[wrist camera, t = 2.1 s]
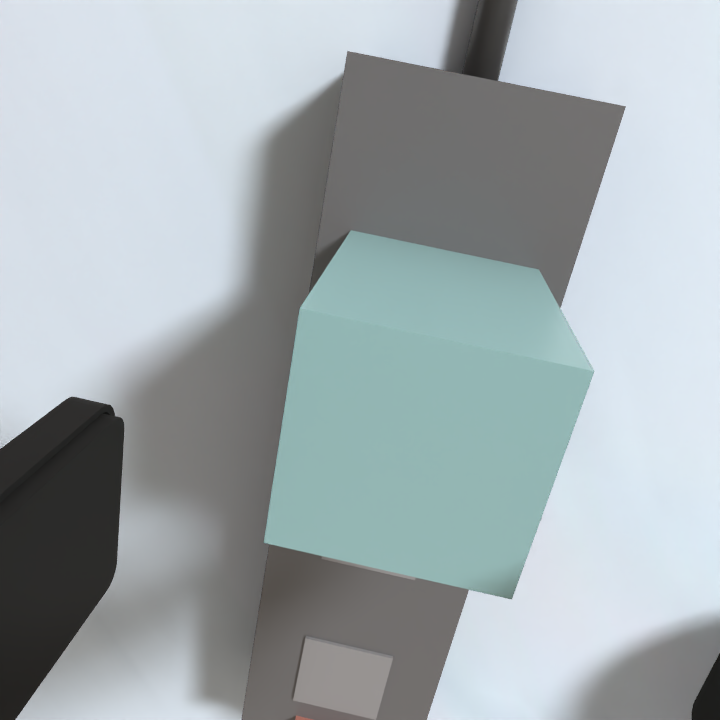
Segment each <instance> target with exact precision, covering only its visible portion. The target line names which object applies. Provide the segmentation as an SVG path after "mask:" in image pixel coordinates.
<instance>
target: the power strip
mask: <svg viewBox="0 0 720 720" xmlns="http://www.w3.org/2000/svg"><path fill="white" fill-rule="evenodd" d="M517 1H518V0H479V1H478V5H477V10H476V14H475V19H474V23H473V28H472V32H471V37H470V41H469V45H468V50H467V54H466V59H465V63H464V68H463V72H462V74H460V73H455V72H450V71H444V70H439V69H434V68H429V67H424V66H419V65H414V64H409V63H404V62H399V61H394V60H389V59H384V58H379V57H374V56H369V55H364V54H359V53H354V52H349V51H347V57H346V63H345V70H344V76H343V82H342V89H341V95H340V101H339V108H338V114H337V120H336V127H335V133H334V139H333V145H332V152H331V158H330V164H329V171H328V177H327V183H326V190H325V196H324V202H323V209H322V215H321V221H320V228H319V234H318V240H317V247H316V253H315V259H314V266H313V272H312V278H311V284H310V291H309V293H310V292H311V290H312V289H313V287H314V286H315V284H316V283H317V281H318V280H319V278H320V277H321V275H322V274H323V272H324V271H325V269H326V268H327V266H328V264H329V263H330V261H331V260H332V258H333V257H334V255H335V254H336V252H337V251H338V249H339V248H340V246H341V245H342V243H343V242H344V240H345V239H346V237H347V236H348V234H349V233H350V231H351V230H352V231H357V232H362V233H367V234H371V235H376V236H381V237H386V238H391V239H395V240H400V241H405V242H410V243H415V244H419V245H424V246H429V247H434V248H438V249H443V250H448V251H453V252H458V253H462V254H467V255H472V256H477V257H481V258H486V259H491V260H496V261H501V262H505V263H510V264H515V265H520V266H524V267H529V268H534V269H539V271H540V272H541V274H542V276H543V278H544V280H545V282H546V283H547V285H548V287H549V289H550V291H551V293H552V294H553V296H554V298H555V300H556V302H557V304H558V306H559V307H561V304H562V301H563V298H564V295H565V292H566V289H567V286H568V283H569V280H570V277H571V273H572V270H573V267H574V264H575V261H576V258H577V255H578V252H579V249H580V246H581V243H582V240H583V237H584V233H585V230H586V227H587V224H588V221H589V218H590V215H591V212H592V209H593V206H594V203H595V200H596V197H597V193H598V190H599V187H600V184H601V181H602V178H603V175H604V172H605V169H606V166H607V163H608V160H609V157H610V153H611V150H612V147H613V144H614V141H615V138H616V135H617V132H618V129H619V126H620V123H621V120H622V117H623V113H624V110H625V107H626V106H620V105H615V104H610V103H605V102H600V101H595V100H590V99H585V98H580V97H575V96H570V95H565V94H560V93H555V92H550V91H545V90H540V89H535V88H530V87H525V86H520V85H515V84H510V83H505V82H500V81H498V78H499V74H500V70H501V66H502V62H503V58H504V54H505V50H506V46H507V42H508V38H509V34H510V30H511V26H512V21H513V17H514V13H515V9H516V5H517ZM468 591H469V589H464V588H460V587H455V586H451V585H447V584H442V583H438V582H434V581H429V580H425V579H420V578H416V577H412V576H407V575H403V574H399V573H394V572H390V571H385V570H381V569H377V568H372V567H368V566H363V565H359V564H355V563H350V562H346V561H342V560H337V559H333V558H328V557H324V556H320V555H315V554H311V553H307V552H302V551H298V550H293V549H289V548H285V547H280V546H276V545H271V544H269V550H268V556H267V563H266V569H265V575H264V581H263V588H262V594H261V600H260V607H259V613H258V619H257V626H256V632H255V638H254V645H253V651H252V657H251V664H250V670H249V676H248V683H247V689H246V695H245V702H244V708H243V714H242V720H427V717H428V714H429V711H430V707H431V704H432V701H433V698H434V695H435V692H436V689H437V686H438V683H439V680H440V677H441V674H442V671H443V667H444V664H445V661H446V658H447V655H448V652H449V649H450V646H451V643H452V640H453V637H454V634H455V631H456V627H457V624H458V621H459V618H460V615H461V612H462V609H463V606H464V603H465V600H466V597H467V594H468Z"/></svg>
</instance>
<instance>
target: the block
mask: <svg viewBox="0 0 720 720" xmlns="http://www.w3.org/2000/svg"><path fill="white" fill-rule="evenodd" d="M593 373H594V370H593V368H592V366H591V364H590V363H589V361H588V359H587V357H586V355H585V353H584V351H583V350H582V348H581V346H580V344H579V342H578V340H577V339H576V337H575V335H574V333H573V331H572V329H571V328H570V326H569V324H568V322H567V320H566V318H565V317H564V315H563V313H562V311H561V309H560V307H559V306H558V304H557V302H556V300H555V298H554V296H553V294H552V293H551V291H550V289H549V287H548V285H547V283H546V282H545V280H544V278H543V276H542V274H541V272H540V271H539V269H534V268H529V267H524V266H520V265H515V264H510V263H505V262H501V261H496V260H491V259H486V258H481V257H477V256H472V255H467V254H462V253H458V252H453V251H448V250H443V249H438V248H434V247H429V246H424V245H419V244H415V243H410V242H405V241H400V240H395V239H391V238H386V237H381V236H376V235H371V234H367V233H362V232H357V231H352V230H351V231H350V233H349V234H348V236H347V237H346V239H345V240H344V242H343V243H342V245H341V246H340V248H339V249H338V251H337V252H336V254H335V255H334V257H333V258H332V260H331V261H330V263H329V264H328V266H327V268H326V269H325V271H324V272H323V274H322V275H321V277H320V278H319V280H318V281H317V283H316V284H315V286H314V287H313V289H312V290H311V292H310V293H309V295H308V296H307V298H306V299H305V301H304V302H303V304H302V306H301V307H300V310H299V316H298V323H297V329H296V336H295V342H294V349H293V355H292V362H291V368H290V375H289V381H288V388H287V394H286V401H285V407H284V414H283V420H282V427H281V433H280V440H279V446H278V453H277V460H276V466H275V473H274V479H273V486H272V492H271V499H270V505H269V512H268V518H267V525H266V531H265V538H264V543H267V544H271V545H276V546H280V547H285V548H289V549H293V550H298V551H302V552H307V553H311V554H315V555H320V556H324V557H328V558H333V559H337V560H342V561H346V562H350V563H355V564H359V565H363V566H368V567H372V568H377V569H381V570H385V571H390V572H394V573H399V574H403V575H407V576H412V577H416V578H420V579H425V580H429V581H434V582H438V583H442V584H447V585H451V586H455V587H460V588H464V589H469V590H473V591H477V592H482V593H486V594H491V595H495V596H499V597H504V598H508V599H512V597H513V594H514V591H515V589H516V586H517V583H518V580H519V578H520V575H521V572H522V569H523V567H524V564H525V561H526V558H527V556H528V553H529V550H530V547H531V545H532V542H533V539H534V536H535V533H536V531H537V528H538V525H539V522H540V520H541V517H542V514H543V511H544V509H545V506H546V503H547V500H548V498H549V495H550V492H551V489H552V487H553V484H554V481H555V478H556V476H557V473H558V470H559V467H560V464H561V462H562V459H563V456H564V453H565V451H566V448H567V445H568V442H569V440H570V437H571V434H572V431H573V429H574V426H575V423H576V420H577V418H578V415H579V412H580V409H581V407H582V404H583V401H584V398H585V395H586V393H587V390H588V387H589V384H590V382H591V379H592V376H593Z"/></svg>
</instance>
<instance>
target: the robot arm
mask: <svg viewBox="0 0 720 720" xmlns="http://www.w3.org/2000/svg"><path fill="white" fill-rule="evenodd" d="M123 442H124V422H123V419H122V418H120V417H116V416H115V413H114V410H113V408H112V407H111V405H107V404H103V403H99V402H94V401H90V400H85V399H81V398H77V397H70V398H68V399H66V400H65V401H63V402H62V403H61V404H59V405H58V406H57V407H55V408H54V409H53V410H52V411H50V412H49V413H48V414H46V415H45V416H44V417H42V418H41V419H40V420H38V421H37V422H36V423H34V424H33V425H32V426H30V427H29V428H28V429H26V430H25V431H24V432H22V433H21V434H20V435H18V436H17V437H16V438H14V439H13V440H12V441H10V442H9V443H8V444H6V445H5V446H4V447H3V448H1V449H0V720H15V719H16V718H17V716H18V715H19V714H20V712H21V711H22V709H23V708H24V707H25V705H26V704H27V702H28V701H29V699H30V698H31V697H32V695H33V694H34V692H35V691H36V690H37V688H38V687H39V685H40V684H41V683H42V681H43V680H44V678H45V677H46V675H47V674H48V673H49V671H50V670H51V668H52V667H53V666H54V664H55V663H56V661H57V660H58V659H59V657H60V656H61V654H62V653H63V652H64V650H65V649H66V647H67V646H68V644H69V643H70V642H71V640H72V639H73V637H74V636H75V635H76V633H77V632H78V630H79V629H80V628H81V626H82V625H83V623H84V622H85V620H86V619H87V618H88V616H89V615H90V613H91V612H92V611H93V609H94V608H95V606H96V605H97V604H98V602H99V601H100V599H101V598H102V597H103V595H104V594H105V592H106V591H107V589H108V588H109V586H110V584H111V582H112V579H113V577H114V574H115V570H116V565H117V550H118V532H119V514H120V496H121V478H122V460H123ZM692 720H720V654H719V656H718V658H717V660H716V662H715V663H714V665H713V667H712V669H711V671H710V673H709V675H708V677H707V679H706V681H705V683H704V684H703V686H702V688H701V690H700V692H699V694H698V696H697V698H696V700H695V702H694V705H693V709H692Z"/></svg>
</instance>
